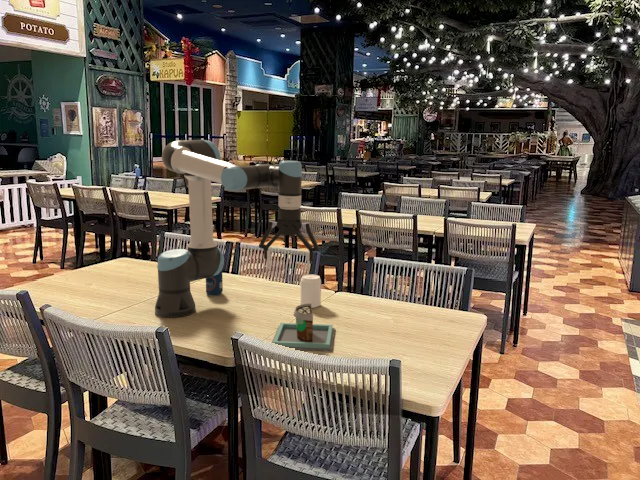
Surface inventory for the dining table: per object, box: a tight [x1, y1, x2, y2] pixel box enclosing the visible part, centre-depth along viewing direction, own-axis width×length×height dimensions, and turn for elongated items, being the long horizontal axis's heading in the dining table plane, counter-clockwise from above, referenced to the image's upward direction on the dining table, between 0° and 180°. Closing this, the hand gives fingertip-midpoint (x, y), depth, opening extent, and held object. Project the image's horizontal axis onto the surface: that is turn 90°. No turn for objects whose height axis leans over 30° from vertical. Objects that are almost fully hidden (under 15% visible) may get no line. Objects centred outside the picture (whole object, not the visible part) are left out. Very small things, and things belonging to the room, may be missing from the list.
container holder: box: [271, 322, 336, 352], centre depth 192 cm, size 20×20×2 cm
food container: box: [293, 304, 314, 342], centre depth 191 cm, size 12×6×10 cm, turn 3°
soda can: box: [205, 269, 224, 297], centre depth 240 cm, size 7×7×12 cm
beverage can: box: [300, 273, 322, 309], centre depth 226 cm, size 8×8×12 cm
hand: (288, 269), depth 194 cm, fingers open, 13 cm apart
